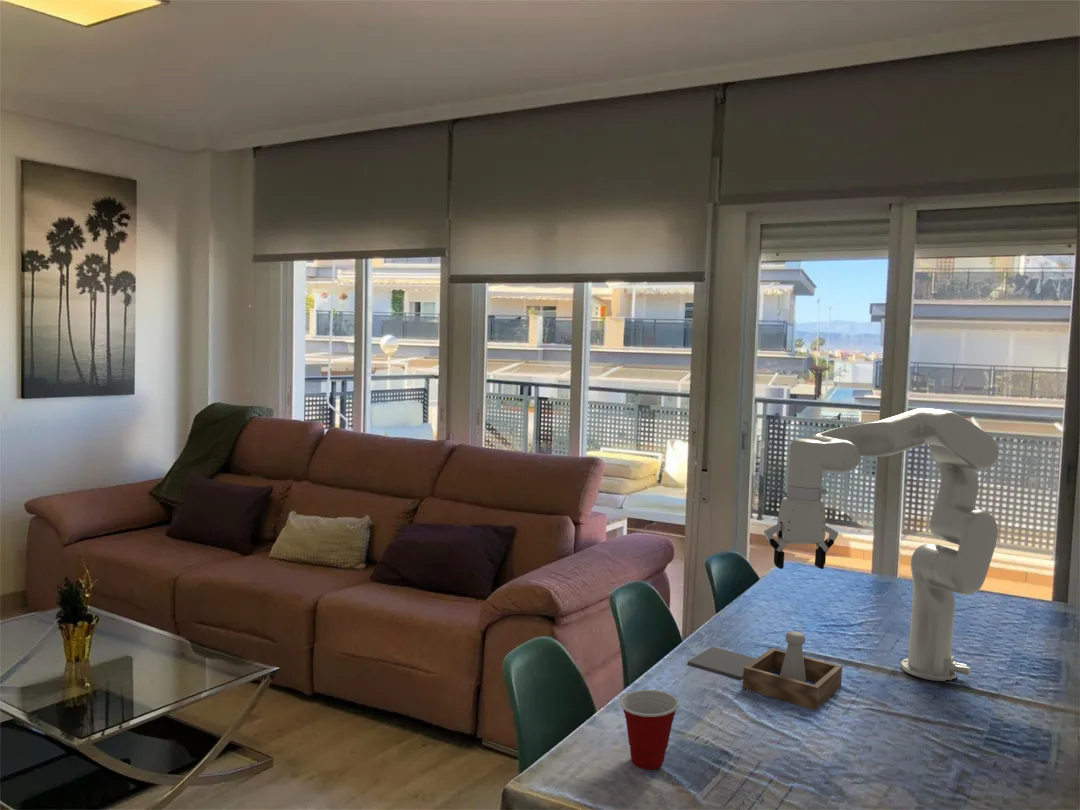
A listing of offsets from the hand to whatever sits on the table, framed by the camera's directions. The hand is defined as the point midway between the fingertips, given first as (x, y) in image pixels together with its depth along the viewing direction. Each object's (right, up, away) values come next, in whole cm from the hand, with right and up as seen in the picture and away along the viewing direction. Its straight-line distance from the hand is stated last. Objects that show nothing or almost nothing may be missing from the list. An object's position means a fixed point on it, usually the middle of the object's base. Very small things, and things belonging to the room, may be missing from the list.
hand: (799, 567), depth 195 cm
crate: (-1, -28, +2) cm, 28 cm away
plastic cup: (-40, -30, -36) cm, 61 cm away
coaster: (-13, -27, +15) cm, 34 cm away
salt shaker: (-1, -28, +2) cm, 28 cm away
